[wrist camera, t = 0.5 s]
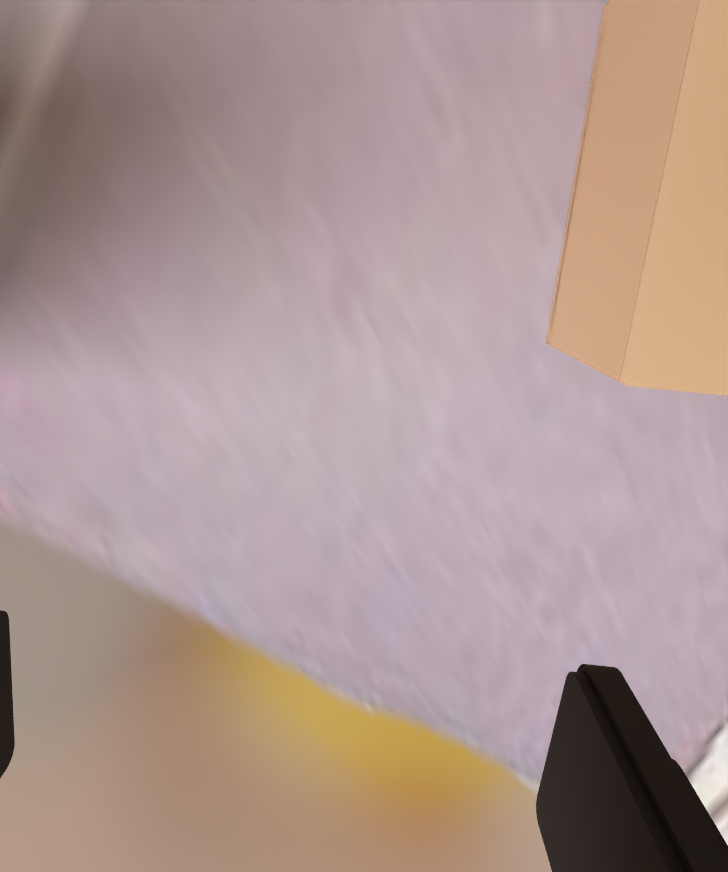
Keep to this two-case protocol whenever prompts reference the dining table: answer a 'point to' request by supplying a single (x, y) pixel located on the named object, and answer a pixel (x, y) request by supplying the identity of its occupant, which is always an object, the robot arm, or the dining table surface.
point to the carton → (619, 177)
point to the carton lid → (689, 233)
